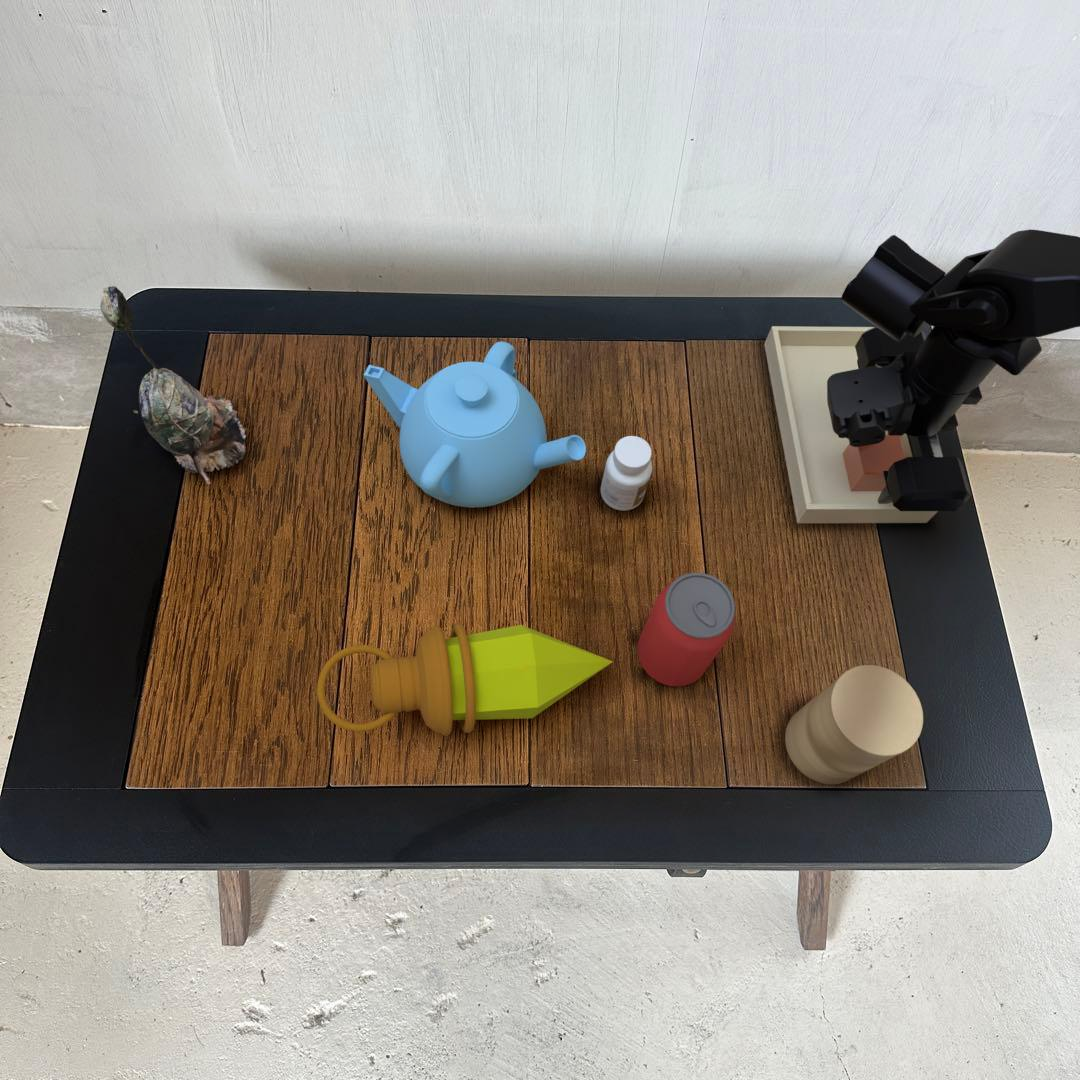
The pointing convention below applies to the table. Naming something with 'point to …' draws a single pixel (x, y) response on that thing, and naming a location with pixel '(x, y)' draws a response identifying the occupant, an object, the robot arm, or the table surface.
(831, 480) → the beige tray
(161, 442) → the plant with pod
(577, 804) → the table surface
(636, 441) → the pill bottle
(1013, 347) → the robot arm
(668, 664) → the beer can
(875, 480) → the clay block
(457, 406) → the teapot
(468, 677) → the plumb bob
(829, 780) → the pedestal
